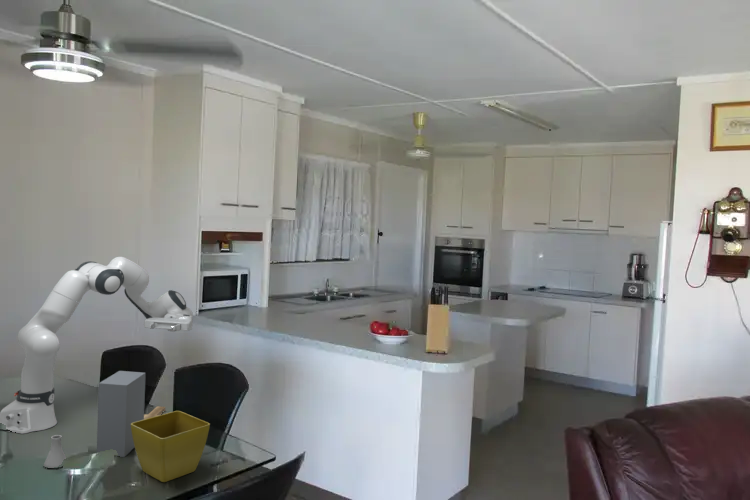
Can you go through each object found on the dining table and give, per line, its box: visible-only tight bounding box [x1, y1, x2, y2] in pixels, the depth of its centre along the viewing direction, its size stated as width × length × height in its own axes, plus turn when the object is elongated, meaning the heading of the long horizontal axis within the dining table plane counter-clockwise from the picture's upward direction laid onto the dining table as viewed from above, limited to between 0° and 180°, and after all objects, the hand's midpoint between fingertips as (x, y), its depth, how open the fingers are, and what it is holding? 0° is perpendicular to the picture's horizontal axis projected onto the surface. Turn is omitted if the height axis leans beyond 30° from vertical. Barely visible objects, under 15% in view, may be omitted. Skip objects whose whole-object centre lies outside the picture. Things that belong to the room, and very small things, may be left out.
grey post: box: [96, 370, 147, 458], centre depth 220 cm, size 10×16×26 cm, turn 178°
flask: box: [42, 434, 67, 468], centre depth 203 cm, size 7×7×10 cm
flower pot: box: [131, 410, 211, 483], centre depth 204 cm, size 19×19×17 cm
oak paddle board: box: [144, 405, 166, 419], centre depth 248 cm, size 12×22×2 cm, turn 178°
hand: (162, 327), depth 259 cm, fingers open, 8 cm apart
